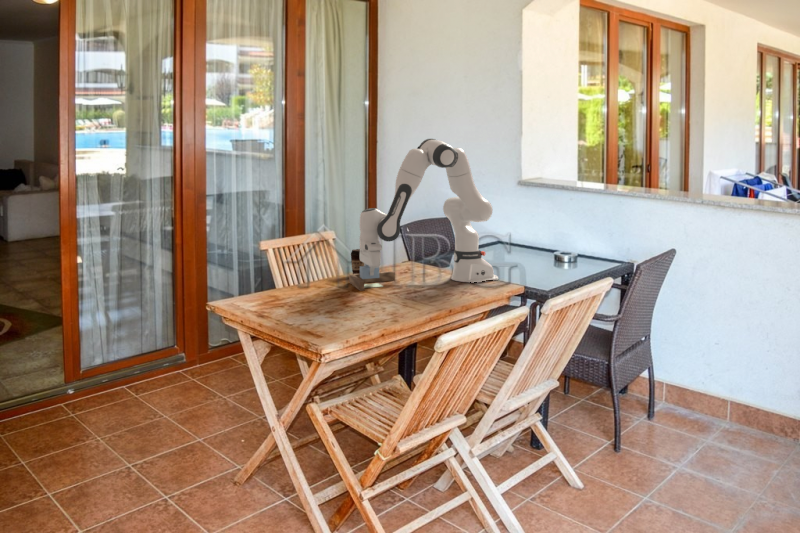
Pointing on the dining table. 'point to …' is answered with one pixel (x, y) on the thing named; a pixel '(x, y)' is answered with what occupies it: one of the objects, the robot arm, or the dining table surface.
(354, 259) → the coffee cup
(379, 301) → the dining table surface
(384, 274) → the brown l-shaped corner fence
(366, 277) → the block
